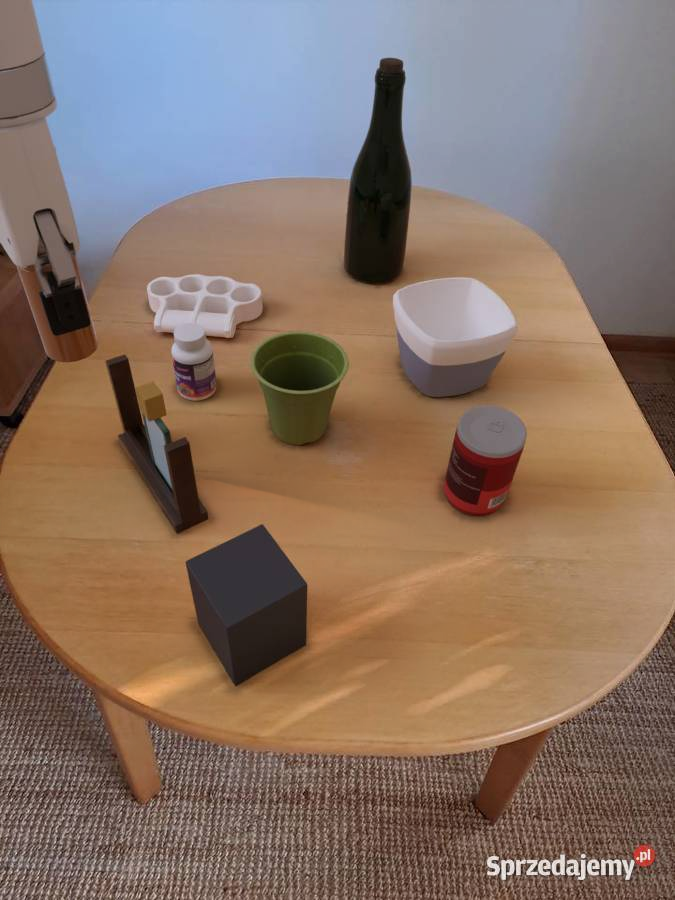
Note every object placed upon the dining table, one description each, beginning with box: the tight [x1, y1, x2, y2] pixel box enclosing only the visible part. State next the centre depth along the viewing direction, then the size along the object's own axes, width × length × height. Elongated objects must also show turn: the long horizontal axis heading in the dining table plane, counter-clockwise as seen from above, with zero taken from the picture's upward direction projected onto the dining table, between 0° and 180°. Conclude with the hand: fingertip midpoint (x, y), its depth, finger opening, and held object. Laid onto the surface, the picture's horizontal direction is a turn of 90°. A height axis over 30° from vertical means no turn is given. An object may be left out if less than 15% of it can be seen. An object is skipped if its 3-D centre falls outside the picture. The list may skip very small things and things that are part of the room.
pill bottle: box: [170, 323, 218, 402], centre depth 90 cm, size 5×5×10 cm
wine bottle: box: [343, 57, 413, 285], centre depth 105 cm, size 10×10×33 cm
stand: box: [185, 523, 308, 687], centre depth 64 cm, size 8×8×11 cm
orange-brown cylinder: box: [15, 248, 99, 363], centre depth 58 cm, size 5×5×9 cm
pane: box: [135, 381, 173, 493], centre depth 74 cm, size 2×7×14 cm, turn 34°
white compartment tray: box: [146, 273, 264, 339], centre depth 105 cm, size 3×18×15 cm
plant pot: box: [249, 330, 350, 446], centre depth 85 cm, size 12×12×11 cm
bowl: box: [392, 276, 519, 398], centre depth 94 cm, size 15×15×11 cm
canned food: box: [443, 404, 528, 517], centre depth 78 cm, size 8×8×11 cm
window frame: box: [104, 354, 210, 535], centre depth 77 cm, size 4×17×13 cm, turn 34°
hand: (61, 311), depth 58 cm, fingers closed on orange-brown cylinder, 4 cm apart
